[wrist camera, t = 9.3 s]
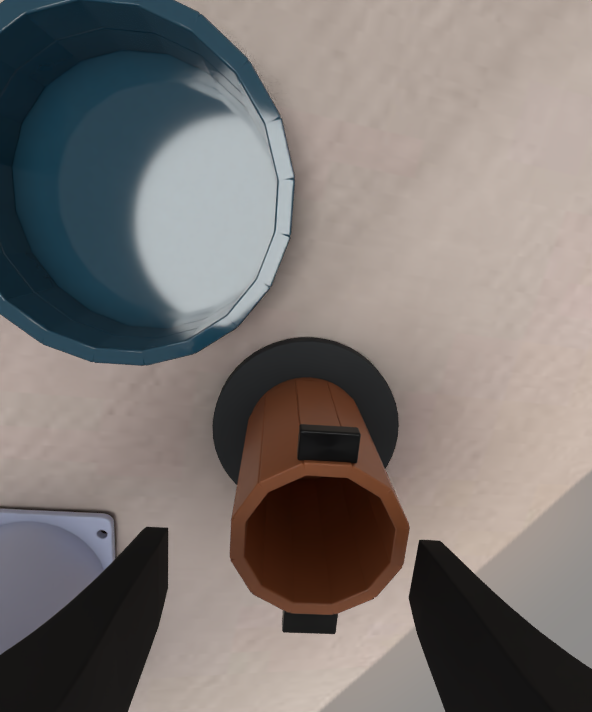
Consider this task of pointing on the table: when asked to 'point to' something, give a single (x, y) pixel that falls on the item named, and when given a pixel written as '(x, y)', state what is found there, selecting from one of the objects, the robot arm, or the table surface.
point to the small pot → (314, 507)
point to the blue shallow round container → (134, 179)
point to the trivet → (302, 362)
